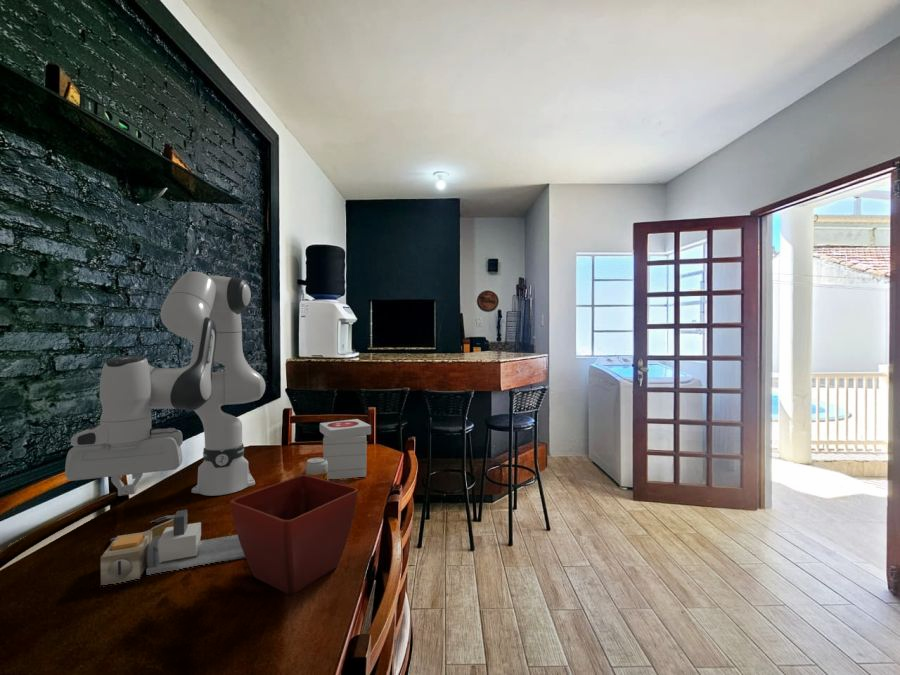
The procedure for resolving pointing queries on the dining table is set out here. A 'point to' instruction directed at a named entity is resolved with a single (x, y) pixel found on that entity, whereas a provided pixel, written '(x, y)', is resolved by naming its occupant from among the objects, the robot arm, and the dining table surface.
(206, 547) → the rail
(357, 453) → the pizza boxes
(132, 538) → the orange cube
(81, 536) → the dining table surface
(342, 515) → the plant pot
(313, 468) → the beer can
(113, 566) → the box
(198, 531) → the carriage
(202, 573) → the dining table surface
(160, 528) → the sunglasses
